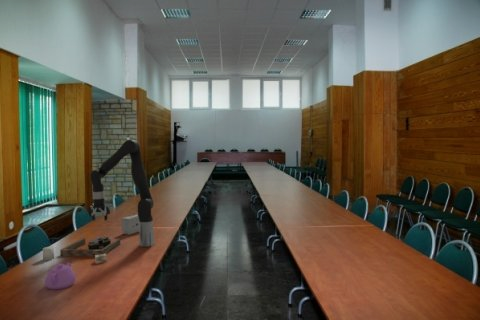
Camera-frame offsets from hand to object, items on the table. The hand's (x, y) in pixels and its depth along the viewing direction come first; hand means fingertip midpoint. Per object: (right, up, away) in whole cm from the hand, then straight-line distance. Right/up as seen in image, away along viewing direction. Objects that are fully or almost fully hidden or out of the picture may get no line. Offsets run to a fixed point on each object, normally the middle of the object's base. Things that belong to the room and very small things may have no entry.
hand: (99, 220), depth 240 cm
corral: (-1, -18, -10) cm, 21 cm away
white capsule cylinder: (-21, -19, -28) cm, 39 cm away
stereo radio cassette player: (+14, -16, +35) cm, 41 cm away
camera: (+4, -19, -13) cm, 23 cm away
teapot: (+7, -21, -65) cm, 69 cm away
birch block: (+14, -19, -33) cm, 41 cm away
